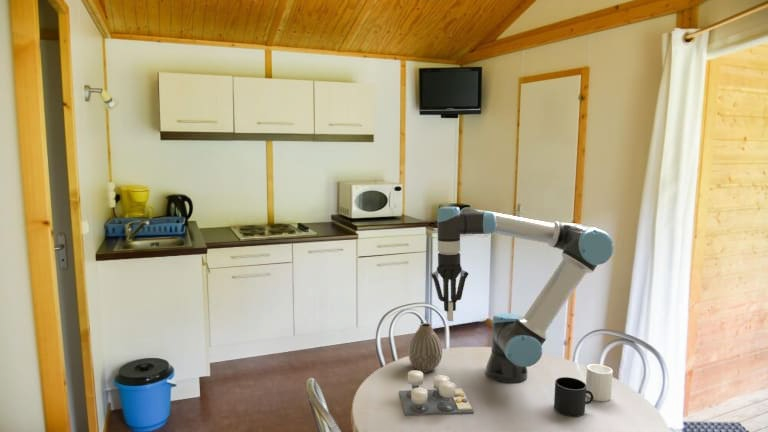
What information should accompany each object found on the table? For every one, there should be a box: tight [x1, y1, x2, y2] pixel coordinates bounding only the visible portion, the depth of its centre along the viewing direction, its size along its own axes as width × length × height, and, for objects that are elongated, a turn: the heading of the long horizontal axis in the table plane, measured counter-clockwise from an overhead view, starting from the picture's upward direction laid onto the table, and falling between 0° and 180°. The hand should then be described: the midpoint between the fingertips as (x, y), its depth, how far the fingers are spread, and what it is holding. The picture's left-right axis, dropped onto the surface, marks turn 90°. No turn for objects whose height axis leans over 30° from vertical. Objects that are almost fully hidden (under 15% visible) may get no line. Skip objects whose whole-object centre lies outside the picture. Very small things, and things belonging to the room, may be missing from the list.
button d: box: [411, 387, 428, 408], centre depth 162 cm, size 5×5×5 cm
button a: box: [433, 374, 450, 393], centre depth 172 cm, size 5×5×5 cm
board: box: [399, 388, 474, 417], centre depth 168 cm, size 22×16×2 cm
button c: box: [407, 369, 424, 389], centre depth 171 cm, size 5×5×5 cm
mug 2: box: [585, 363, 614, 402], centre depth 175 cm, size 8×12×10 cm, turn 7°
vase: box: [407, 323, 443, 373], centre depth 194 cm, size 13×13×18 cm
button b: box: [439, 380, 456, 401], centre depth 163 cm, size 5×5×5 cm
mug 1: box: [553, 376, 593, 418], centre depth 163 cm, size 9×12×9 cm
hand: (450, 320), depth 173 cm, fingers closed
